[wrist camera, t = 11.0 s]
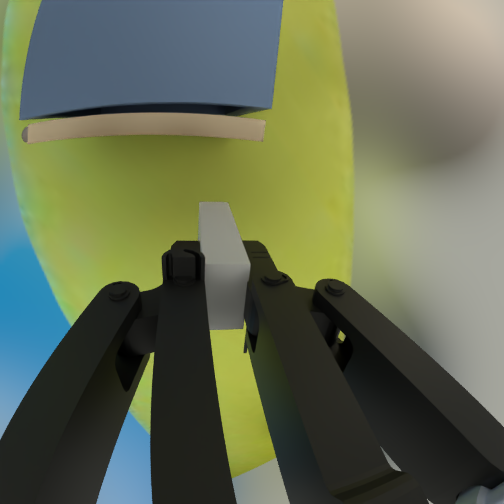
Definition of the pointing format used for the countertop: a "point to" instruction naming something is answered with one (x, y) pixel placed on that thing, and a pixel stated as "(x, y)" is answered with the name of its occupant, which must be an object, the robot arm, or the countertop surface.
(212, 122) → the door
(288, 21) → the countertop surface
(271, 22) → the cabinet
